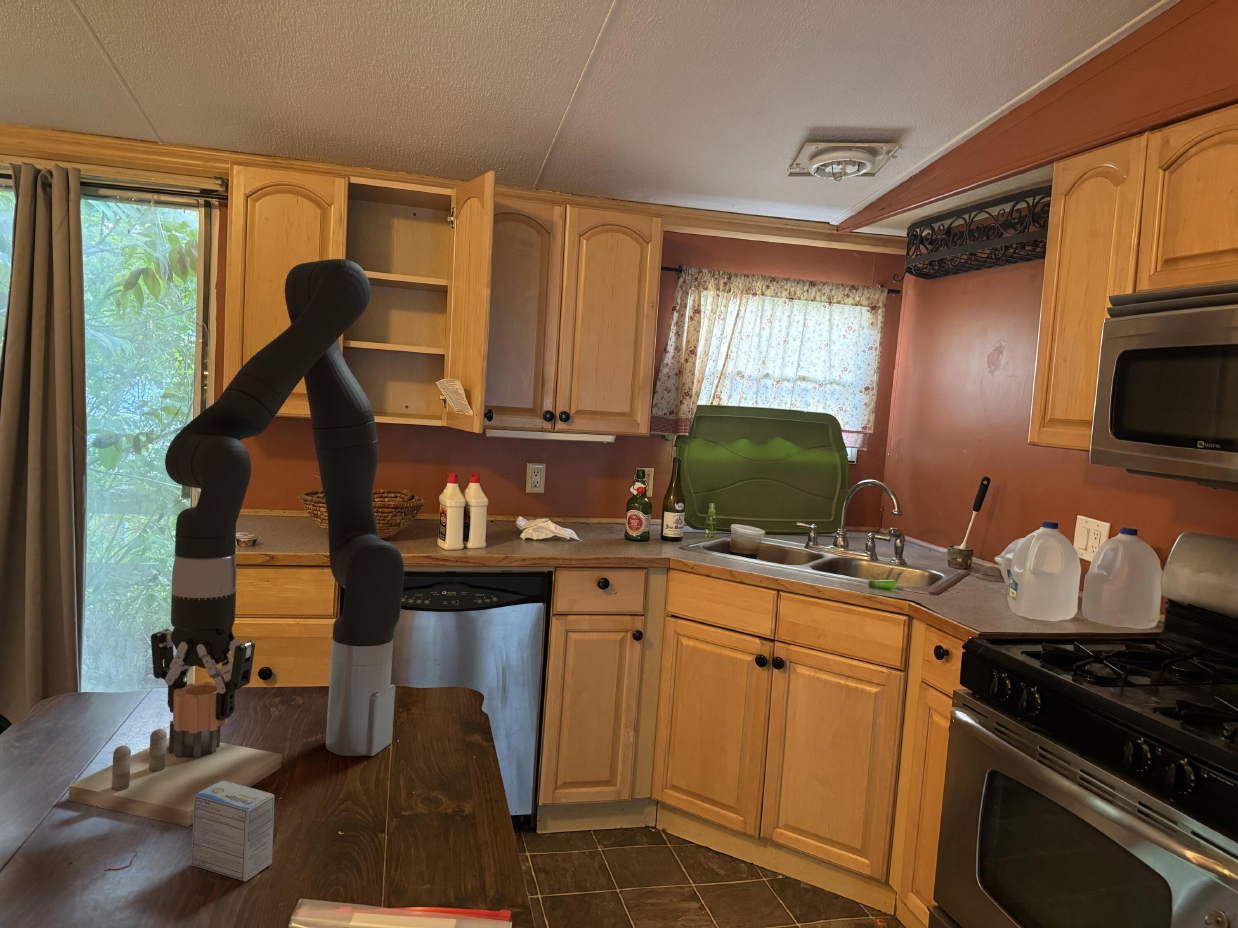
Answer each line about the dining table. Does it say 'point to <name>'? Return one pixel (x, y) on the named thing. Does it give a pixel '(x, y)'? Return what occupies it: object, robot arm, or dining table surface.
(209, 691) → the loose gear
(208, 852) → the medicine box
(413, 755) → the dining table surface
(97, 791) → the gear board
